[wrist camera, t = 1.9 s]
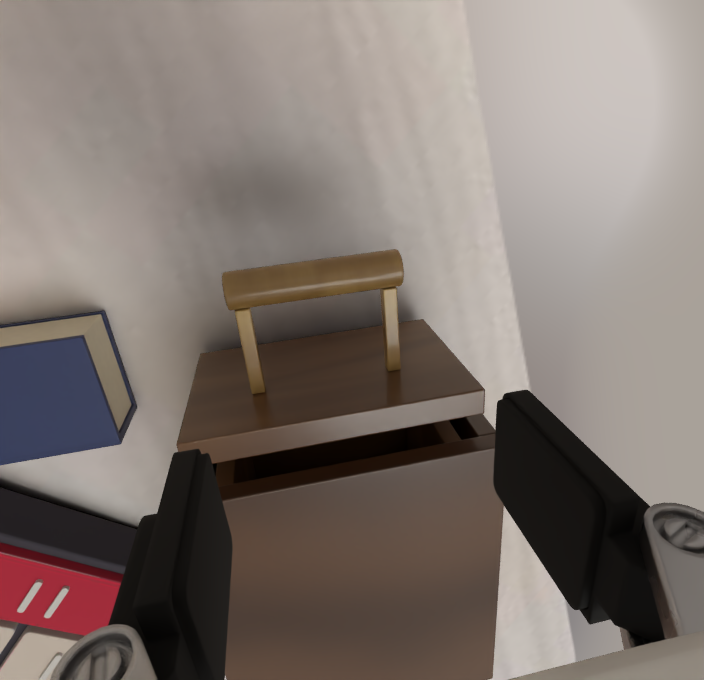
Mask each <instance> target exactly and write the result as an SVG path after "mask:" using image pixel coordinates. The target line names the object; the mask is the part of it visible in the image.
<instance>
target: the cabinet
mask: <svg viewBox="0 0 704 680" xmlns="http://www.w3.org/2000/svg"><path fill="white" fill-rule="evenodd" d="M449 422H450V423H451V425H452V426H453V428H454V429H455V431H456V432H457V434H458V435H459V437H460V438H461V440H459V441H454V442H449V443H443V444H438V445H433V446H428V447H423V448H417V449H412V450H407V451H402V452H396V453H391V454H386V455H381V456H376V457H370V458H365V459H360V460H355V461H349V462H344V463H339V464H334V465H328V466H323V467H318V468H313V469H308V470H302V471H297V472H292V473H287V474H281V475H276V476H271V477H266V478H261V479H255V480H250V481H245V482H240V483H234V484H229V485H224V486H219V491H220V495H221V498H222V502H223V506H224V509H225V513H226V517H227V521H228V524H229V528H230V532H231V536H232V545H233V552H232V567H231V583H230V599H229V615H228V630H227V646H226V662H225V676H226V679H227V680H488V679H492V678H493V662H494V647H495V631H496V616H497V601H498V585H499V570H500V554H501V539H502V523H503V508H504V504H503V503H502V501H501V500H500V498H499V497H498V495H497V493H496V491H495V488H494V484H493V473H494V453H495V433H496V431H495V429H494V428H493V427H492V425H491V424H490V423H489V422H488V420H487V419H486V418H485V417H484V415H483V414H479V415H474V416H468V417H463V418H458V419H452V420H449ZM212 465H213V469H214V472H215V476H216V468H217V463H214V464H212Z"/></svg>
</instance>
